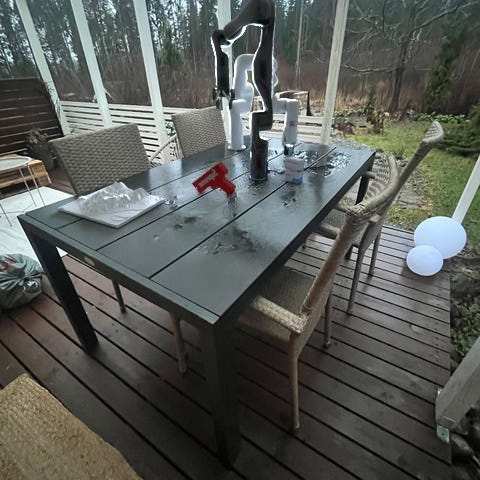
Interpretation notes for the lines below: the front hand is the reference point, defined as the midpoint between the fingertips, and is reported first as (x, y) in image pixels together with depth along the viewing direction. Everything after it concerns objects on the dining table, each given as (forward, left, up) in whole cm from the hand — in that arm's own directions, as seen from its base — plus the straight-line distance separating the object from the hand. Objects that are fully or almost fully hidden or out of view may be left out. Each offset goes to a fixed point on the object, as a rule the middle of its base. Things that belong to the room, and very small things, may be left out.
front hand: (224, 109), depth 155 cm
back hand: (-40, 0, -26) cm, 48 cm away
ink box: (-35, +36, -31) cm, 59 cm away
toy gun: (+7, +48, -31) cm, 58 cm away
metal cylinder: (-40, 0, -31) cm, 50 cm away
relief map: (+51, +59, -31) cm, 84 cm away
